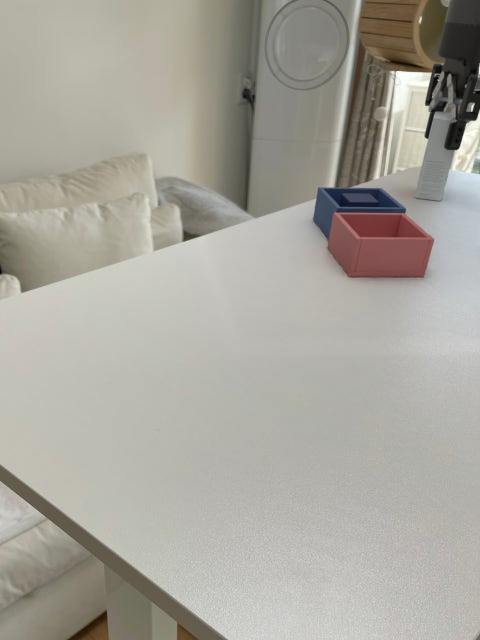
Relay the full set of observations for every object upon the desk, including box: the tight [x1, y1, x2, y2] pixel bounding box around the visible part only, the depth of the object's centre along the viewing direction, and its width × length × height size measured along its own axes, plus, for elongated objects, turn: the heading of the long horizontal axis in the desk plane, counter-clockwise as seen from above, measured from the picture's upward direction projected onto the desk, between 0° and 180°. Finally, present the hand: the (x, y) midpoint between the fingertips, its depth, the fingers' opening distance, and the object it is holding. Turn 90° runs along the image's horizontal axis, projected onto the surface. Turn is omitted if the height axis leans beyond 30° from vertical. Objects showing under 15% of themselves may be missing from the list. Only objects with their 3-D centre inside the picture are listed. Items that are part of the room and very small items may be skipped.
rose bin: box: [326, 213, 435, 278], centre depth 80 cm, size 9×10×5 cm
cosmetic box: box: [414, 111, 456, 202], centre depth 103 cm, size 6×4×12 cm
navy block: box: [339, 193, 379, 207], centre depth 89 cm, size 4×4×4 cm
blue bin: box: [312, 186, 407, 241], centre depth 89 cm, size 9×10×5 cm
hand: (440, 143), depth 102 cm, fingers closed on cosmetic box, 7 cm apart
